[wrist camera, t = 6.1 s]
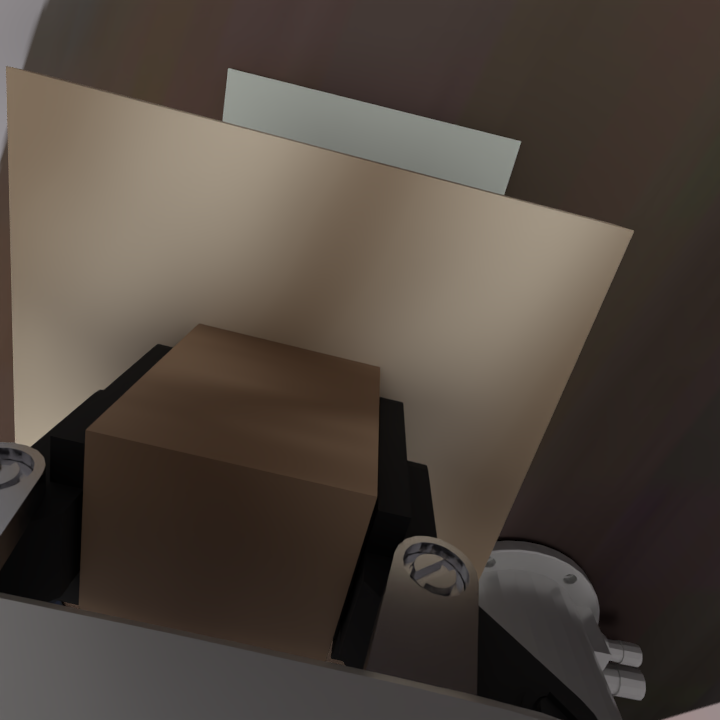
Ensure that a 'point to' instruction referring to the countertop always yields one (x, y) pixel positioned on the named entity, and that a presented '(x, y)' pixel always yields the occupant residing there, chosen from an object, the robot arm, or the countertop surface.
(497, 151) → the mat
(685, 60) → the countertop surface
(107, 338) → the lid
